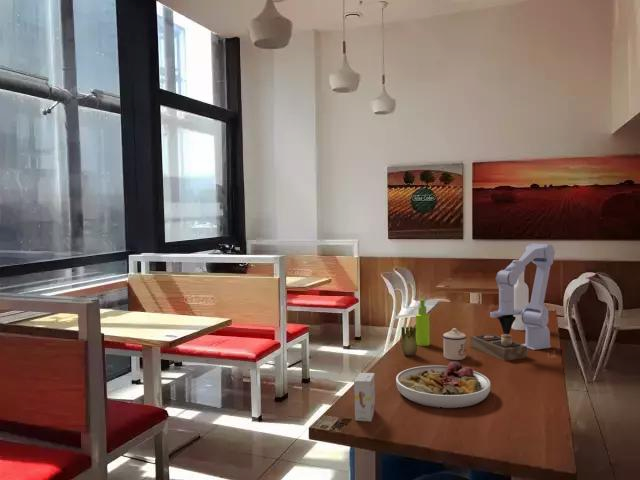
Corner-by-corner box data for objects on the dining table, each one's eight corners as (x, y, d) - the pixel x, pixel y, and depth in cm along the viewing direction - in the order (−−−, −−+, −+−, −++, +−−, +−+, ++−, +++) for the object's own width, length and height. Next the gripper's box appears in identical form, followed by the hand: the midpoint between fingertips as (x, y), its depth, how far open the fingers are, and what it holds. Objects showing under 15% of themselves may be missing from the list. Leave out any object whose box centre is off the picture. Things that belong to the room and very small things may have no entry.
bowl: (475, 419, 154) (475, 392, 154) (381, 400, 170) (380, 376, 169) (500, 387, 179) (500, 364, 179) (416, 374, 195) (416, 353, 195)
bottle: (531, 330, 256) (531, 268, 254) (514, 330, 256) (514, 268, 254) (525, 326, 264) (525, 266, 262) (509, 326, 264) (509, 266, 262)
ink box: (359, 409, 162) (358, 371, 162) (375, 410, 161) (375, 372, 160) (354, 420, 154) (353, 380, 153) (371, 422, 153) (370, 381, 152)
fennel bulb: (400, 355, 219) (399, 326, 218) (407, 352, 223) (406, 324, 222) (412, 357, 215) (412, 328, 215) (418, 355, 219) (418, 326, 218)
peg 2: (507, 345, 218) (507, 333, 217) (514, 348, 214) (514, 336, 214) (498, 347, 216) (498, 334, 216) (505, 349, 213) (505, 337, 212)
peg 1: (490, 346, 228) (490, 335, 228) (496, 349, 224) (496, 337, 224) (482, 347, 227) (481, 336, 227) (488, 350, 223) (488, 338, 223)
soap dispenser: (430, 342, 238) (430, 297, 237) (428, 346, 232) (428, 300, 230) (417, 341, 240) (417, 297, 239) (415, 345, 234) (414, 300, 232)
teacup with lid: (463, 361, 209) (462, 332, 208) (440, 358, 213) (439, 330, 212) (470, 353, 219) (470, 325, 218) (448, 351, 223) (448, 323, 223)
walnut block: (491, 344, 233) (491, 332, 232) (527, 357, 212) (527, 344, 212) (470, 347, 229) (470, 335, 229) (504, 360, 208) (504, 347, 208)
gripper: (514, 297, 220) (514, 329, 221) (485, 300, 215) (485, 333, 216) (526, 300, 213) (526, 333, 214) (496, 303, 209) (496, 337, 209)
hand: (506, 333), depth 215 cm, fingers closed
